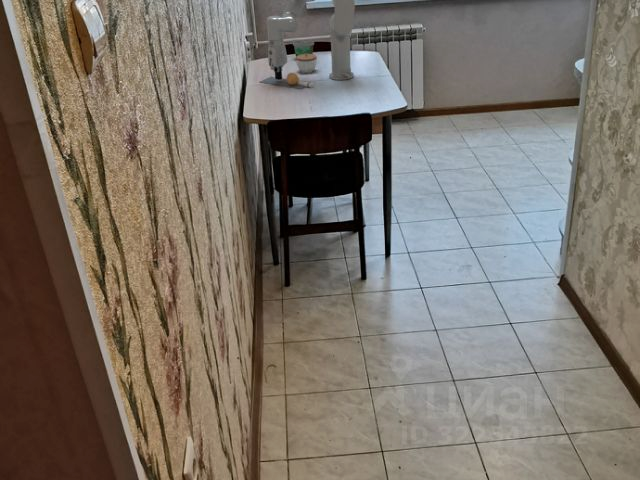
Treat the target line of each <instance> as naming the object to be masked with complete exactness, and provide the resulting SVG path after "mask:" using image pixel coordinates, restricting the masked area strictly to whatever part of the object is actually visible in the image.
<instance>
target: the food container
mask: <svg viewBox="0 0 640 480" xmlns="http://www.w3.org/2000/svg"><path fill="white" fill-rule="evenodd" d="M314 45H315V41H314V40H311V41H303V40H301V41H295V40H293V41H292V46H294V53H295V58H296V57H297V56H298V55H302V54H305V53H307V54H314V53H313V52H314Z"/></svg>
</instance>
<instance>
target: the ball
mask: <svg viewBox="0 0 640 480" xmlns="http://www.w3.org/2000/svg"><path fill="white" fill-rule="evenodd" d="M285 79H286V80H287V83H288V84H290V85H295V84H297V82H298V81H299V76H298V74H296V73H295V72H291V73H288V74H287V76H286V78H285Z"/></svg>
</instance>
